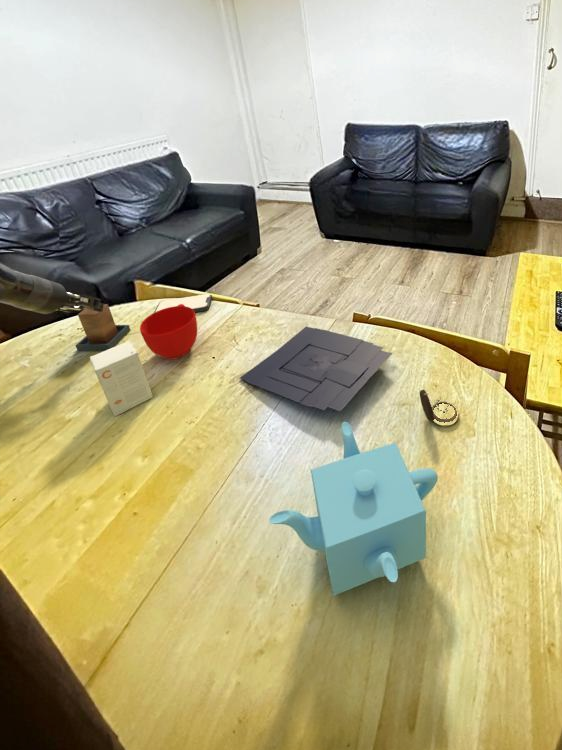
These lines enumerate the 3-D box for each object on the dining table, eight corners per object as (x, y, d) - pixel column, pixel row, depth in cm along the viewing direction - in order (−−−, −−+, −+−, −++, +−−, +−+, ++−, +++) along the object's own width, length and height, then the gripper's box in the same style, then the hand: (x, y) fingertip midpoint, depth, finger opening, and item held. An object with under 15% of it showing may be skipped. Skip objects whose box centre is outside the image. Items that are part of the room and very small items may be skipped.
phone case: (153, 320, 124) (208, 311, 127) (151, 316, 123) (207, 306, 126) (161, 304, 132) (213, 296, 135) (159, 300, 131) (212, 292, 134)
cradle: (77, 351, 111) (75, 345, 111) (100, 330, 120) (98, 325, 119) (110, 350, 111) (108, 345, 110) (130, 330, 119) (128, 324, 119)
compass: (464, 423, 85) (465, 396, 82) (427, 432, 83) (427, 405, 80) (448, 395, 92) (449, 369, 89) (415, 403, 90) (414, 377, 87)
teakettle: (443, 513, 68) (445, 450, 62) (397, 647, 53) (394, 580, 47) (345, 470, 76) (339, 411, 70) (280, 576, 61) (265, 512, 55)
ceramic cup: (212, 325, 120) (204, 296, 116) (195, 364, 105) (186, 332, 101) (165, 330, 119) (156, 300, 115) (142, 370, 103) (130, 338, 99)
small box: (145, 383, 99) (130, 339, 94) (153, 397, 95) (138, 352, 89) (107, 402, 94) (88, 356, 89) (114, 417, 90) (94, 370, 84)
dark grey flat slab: (337, 428, 83) (333, 414, 82) (241, 388, 99) (237, 375, 98) (397, 358, 102) (396, 345, 101) (308, 334, 118) (306, 323, 117)
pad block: (89, 345, 113) (77, 314, 109) (101, 333, 118) (90, 304, 114) (107, 344, 113) (95, 314, 109) (118, 333, 117) (108, 303, 113)
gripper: (69, 277, 95) (115, 294, 110) (10, 278, 96) (64, 294, 111) (60, 309, 92) (109, 322, 107) (-1, 310, 93) (56, 322, 108)
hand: (86, 308), depth 109 cm, fingers open, 8 cm apart
